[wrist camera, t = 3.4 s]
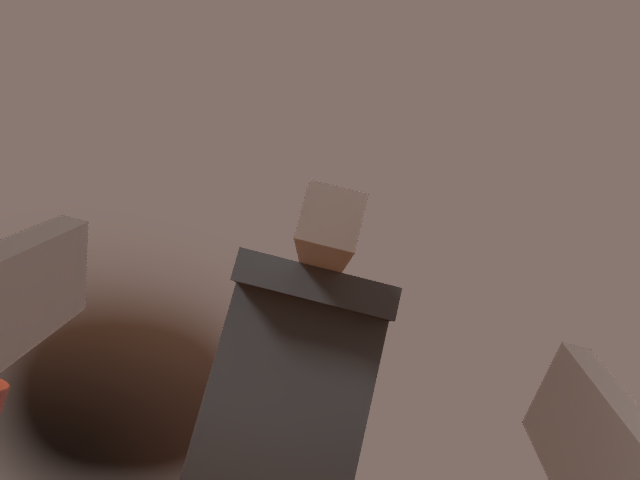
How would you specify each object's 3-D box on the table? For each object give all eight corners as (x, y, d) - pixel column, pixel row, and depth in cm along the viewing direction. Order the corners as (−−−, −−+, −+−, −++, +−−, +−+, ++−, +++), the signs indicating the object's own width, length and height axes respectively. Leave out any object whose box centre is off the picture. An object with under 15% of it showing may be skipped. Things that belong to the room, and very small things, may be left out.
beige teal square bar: (354, 253, 18) (368, 194, 18) (293, 237, 18) (309, 179, 18) (331, 287, 38) (338, 259, 39) (303, 280, 38) (310, 252, 39)
